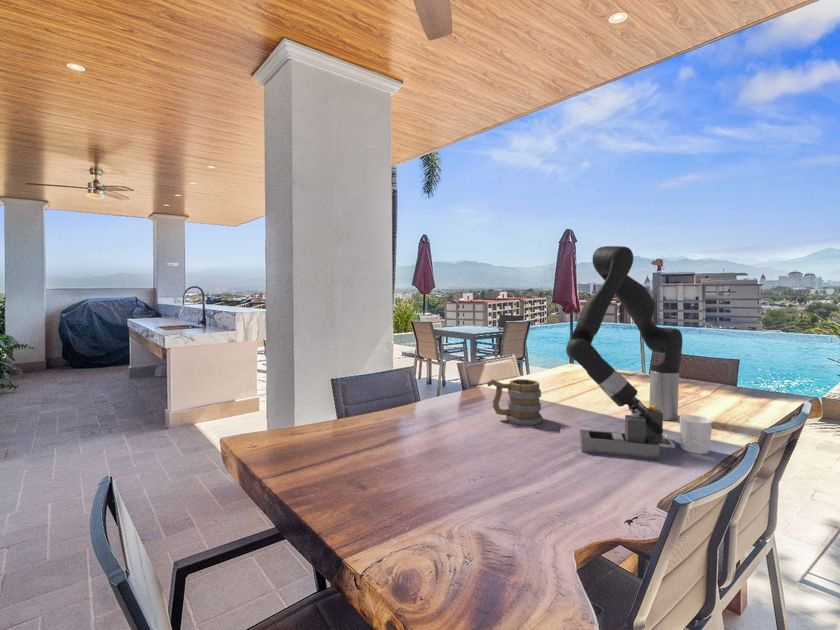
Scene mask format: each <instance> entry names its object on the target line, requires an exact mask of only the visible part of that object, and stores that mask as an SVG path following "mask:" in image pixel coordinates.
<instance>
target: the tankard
mask: <svg viewBox="0 0 840 630" xmlns="http://www.w3.org/2000/svg"><path fill="white" fill-rule="evenodd" d="M486 384H487V387H491V386H495V394H494V396H493V400H492V408H493V410H494V411H495V414H496V415H501V416H505V419H506V420H507V422H508V421H509V422H508V423H512V424H515V423H516V425H518V424H519V425H520V426H521V425H522V426H536V425H538V424H542V423H543V422H544V417H543V416H542V414H541V413H540V411H541V410H542V404H541V402H540V398H541V397H542V390H541V389H540V383H539V381H537V380H533V379H526V378H525V379H520V378H519V379H518V378H516V379H512V380H510V381H509V383H503V382H500V381H497V380H495V379H493V378H492V379H490V380H488V381H487V382H486ZM503 389H507V394H508V397H509V399H508V400H507V407H508V408H500V405H499V403H500V400H501V397H502V396H503V395H502V394H503Z"/></svg>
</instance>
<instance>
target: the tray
mask: <svg viewBox="0 0 840 630" xmlns="http://www.w3.org/2000/svg"><path fill="white" fill-rule="evenodd" d="M662 438H665V439H666V441H667V442H668V443H669V444H668V443H667V444H666V443H665V444H664V443H662V444H661V443H658V444H659V445H660V447H664V448H673V449H675V448H676V445H675V444H674V442H673V441H672V440H671V439H670V437H669V436H668V435H667V434H665V433H662Z"/></svg>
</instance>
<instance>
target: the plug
mask: <svg viewBox="0 0 840 630" xmlns="http://www.w3.org/2000/svg"><path fill="white" fill-rule="evenodd" d="M645 409H646V410H647V411H648V412H649V416H650V417H651V418H653V419H654V421H655V422H656V423H657V424H658V425H659V426H660V427H661V428H662V429H663V430H664V427H663V425H664V423H663V422H664V420H663V412H662V411H661V410H660V409H657V407H656V406H649V407H646V408H645ZM644 419H645V421H647V420H648V418H647V417H645V418H644ZM662 434H664V431H663V432H662V433H660V434H659V435H657V434H656V433H655V432H654V431H653V430H652V429H651V428H650V427H649V426H646V430H645V435H651V436H654V438H655V439H656V441H657V442H658V444H663V437H662Z"/></svg>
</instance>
